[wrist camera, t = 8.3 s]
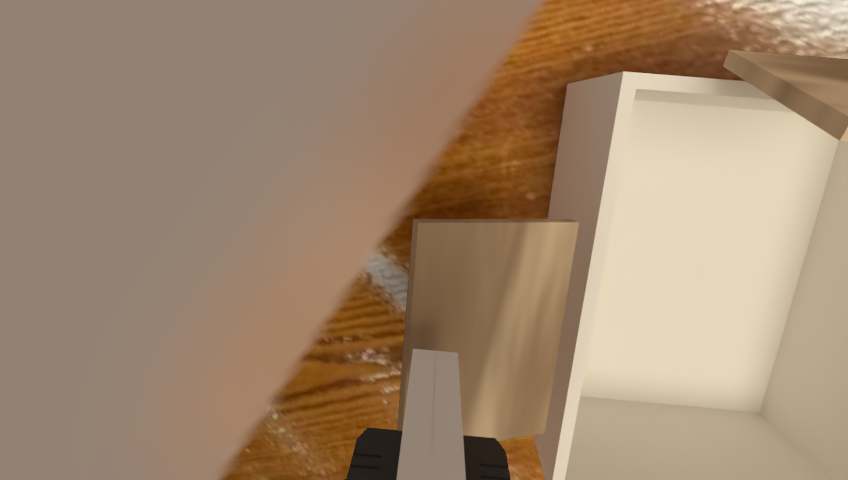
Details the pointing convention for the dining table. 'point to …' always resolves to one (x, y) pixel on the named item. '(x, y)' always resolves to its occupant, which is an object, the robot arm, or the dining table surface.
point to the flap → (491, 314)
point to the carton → (699, 286)
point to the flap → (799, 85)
